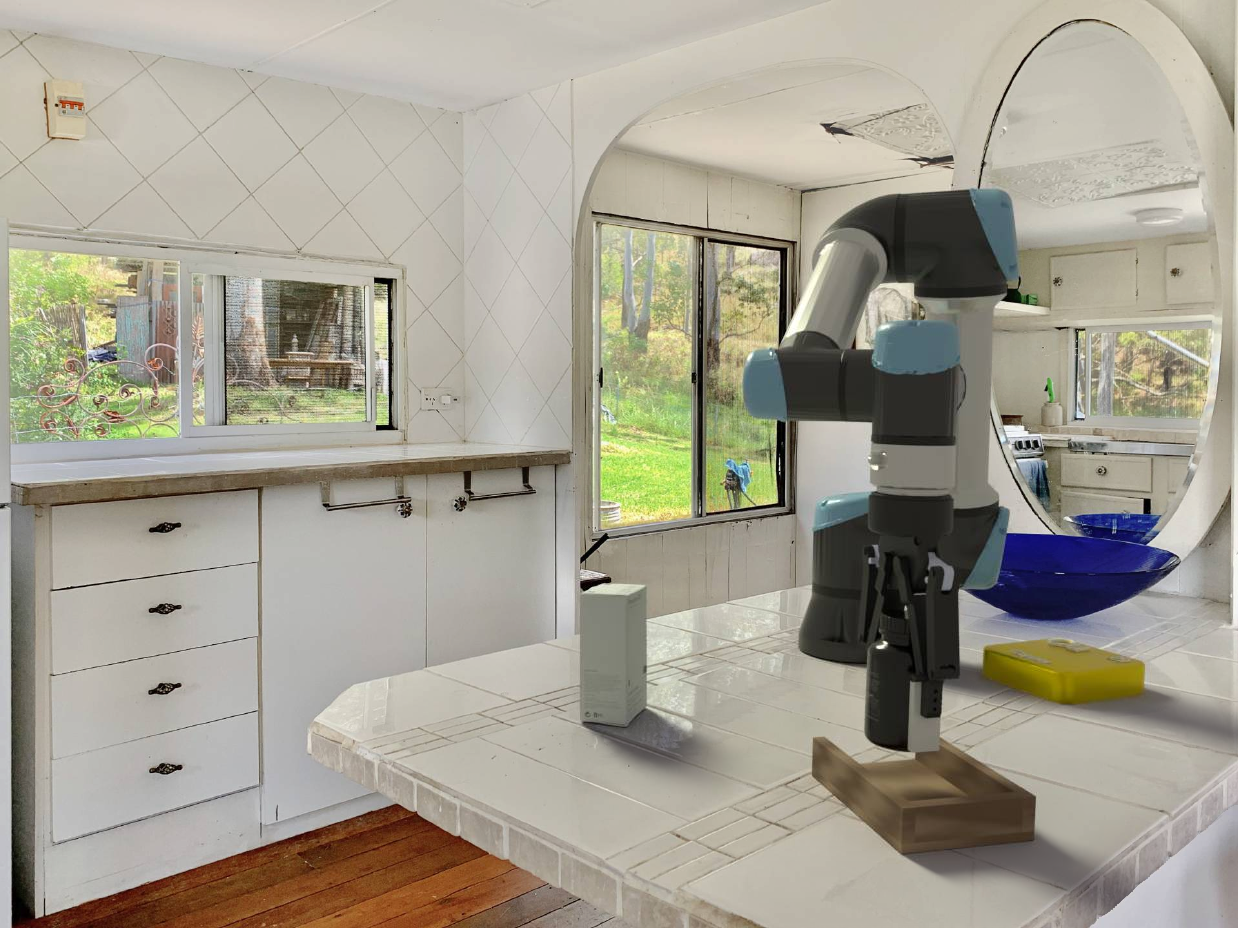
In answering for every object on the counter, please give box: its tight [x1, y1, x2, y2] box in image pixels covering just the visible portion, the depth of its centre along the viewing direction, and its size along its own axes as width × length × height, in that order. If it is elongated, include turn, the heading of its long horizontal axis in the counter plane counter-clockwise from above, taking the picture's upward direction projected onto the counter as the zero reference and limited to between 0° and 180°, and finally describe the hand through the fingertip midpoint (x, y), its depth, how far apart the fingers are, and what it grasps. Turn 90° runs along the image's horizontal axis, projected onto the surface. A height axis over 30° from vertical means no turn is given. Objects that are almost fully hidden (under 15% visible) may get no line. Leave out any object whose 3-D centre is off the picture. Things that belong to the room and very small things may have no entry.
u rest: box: [811, 736, 1037, 855], centre depth 91 cm, size 17×12×4 cm
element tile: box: [981, 637, 1146, 706], centre depth 132 cm, size 15×15×5 cm
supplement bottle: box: [863, 609, 942, 753], centre depth 93 cm, size 7×7×12 cm
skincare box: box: [579, 582, 648, 728], centre depth 116 cm, size 8×6×15 cm
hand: (902, 735), depth 93 cm, fingers closed on supplement bottle, 7 cm apart
